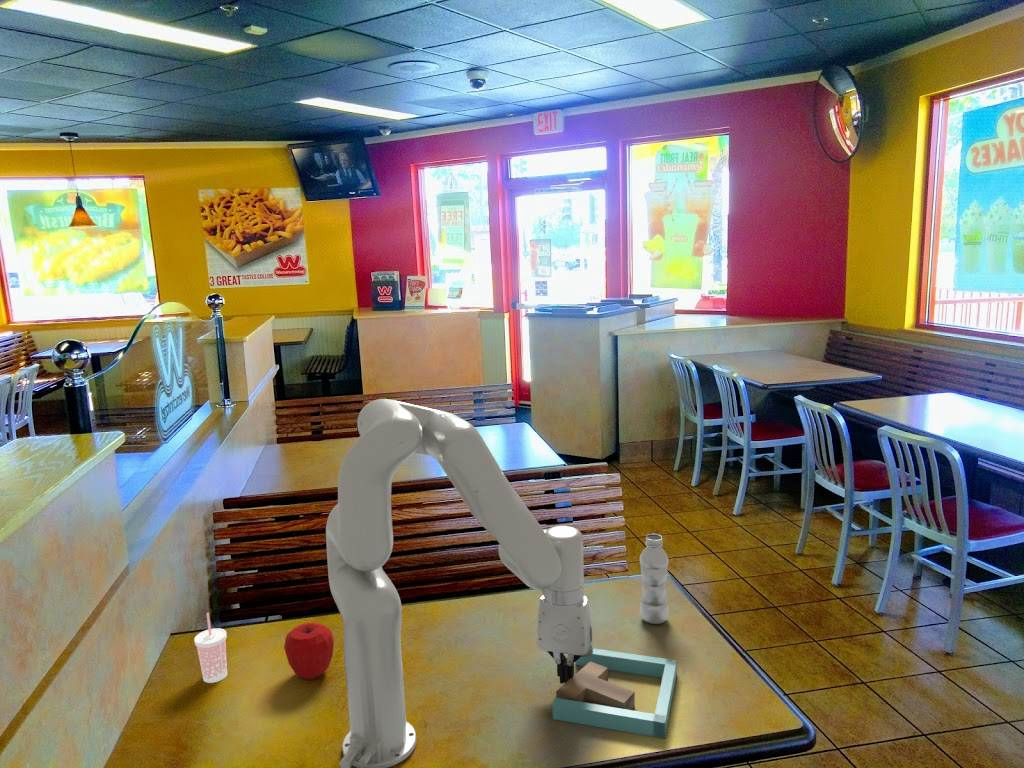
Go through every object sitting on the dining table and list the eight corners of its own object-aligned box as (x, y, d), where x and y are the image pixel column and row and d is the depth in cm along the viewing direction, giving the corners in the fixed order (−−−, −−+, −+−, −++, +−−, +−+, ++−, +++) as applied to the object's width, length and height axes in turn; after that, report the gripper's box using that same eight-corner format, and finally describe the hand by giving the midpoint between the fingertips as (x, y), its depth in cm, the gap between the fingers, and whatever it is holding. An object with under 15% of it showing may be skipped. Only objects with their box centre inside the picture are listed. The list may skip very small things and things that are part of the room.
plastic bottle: (647, 630, 162) (647, 544, 158) (634, 615, 169) (634, 533, 165) (674, 625, 164) (674, 540, 160) (660, 611, 170) (660, 529, 166)
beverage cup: (218, 664, 154) (210, 603, 152) (237, 672, 151) (230, 609, 148) (192, 679, 149) (184, 616, 146) (212, 688, 146) (204, 623, 143)
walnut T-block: (612, 729, 130) (612, 714, 129) (556, 705, 137) (556, 691, 136) (644, 695, 139) (644, 681, 138) (590, 675, 146) (590, 661, 146)
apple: (346, 671, 150) (342, 622, 148) (306, 693, 143) (301, 642, 141) (317, 655, 157) (312, 608, 154) (277, 676, 149) (272, 627, 147)
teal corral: (664, 738, 127) (664, 723, 126) (552, 719, 133) (552, 704, 132) (676, 674, 145) (676, 660, 145) (577, 659, 152) (577, 646, 151)
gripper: (520, 596, 137) (523, 685, 141) (599, 606, 133) (600, 697, 136) (531, 579, 144) (534, 663, 148) (606, 587, 140) (607, 674, 143)
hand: (565, 679), depth 142 cm, fingers closed
